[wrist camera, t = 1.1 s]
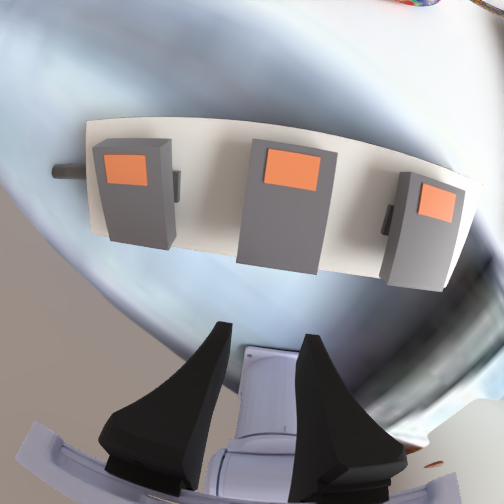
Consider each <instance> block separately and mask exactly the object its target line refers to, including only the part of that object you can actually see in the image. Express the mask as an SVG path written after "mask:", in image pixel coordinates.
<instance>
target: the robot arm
mask: <svg viewBox="0 0 504 504" xmlns="http://www.w3.org/2000/svg"><path fill="white" fill-rule="evenodd" d="M232 325H233V323H227V322H221V321H219V322H217V323H216V325H215V326H214V328H213V330H212V331H211V333H210V334H209V336H208V337H207V338H206V340H205V341H204V342H203V344H202V345H201V346H200V347H199V349H198V350H197V351H196V352H195V353H194V354H193V356H192V357H191V358H190V359H189V360H188V361H187V362H186V363H185V364H184V365H183V366H182V367H181V368H180V369H179V370H178V371H177V372H176V373H175V374H173V375H172V376H171V377H170V378H169V379H168V380H166V381H165V382H164V383H163V384H161V385H160V386H159V387H158V388H156V389H155V390H153V391H152V392H150V393H149V394H147V395H146V396H144V397H142V398H141V399H139V400H138V401H136V402H134V403H132V404H130V405H128V406H127V407H124V408H122V409H120V410H118V411H116V412H114V413H113V414H112V415H111V416H110V418H109V419H108V421H107V422H106V424H105V426H104V428H103V430H102V432H101V434H100V436H99V439H98V441H99V443H100V445H101V446H102V447H103V448H104V449H105V450H106V452H107V453H108V454H109V455H110V456H109V459H108V461H107V463H105V462H103V461H101V460H99V459H97V458H94V457H92V456H90V455H88V454H86V453H84V452H82V451H80V450H78V449H76V448H74V447H73V446H71V445H69V444H67V443H65V442H64V441H63V440H62V439H61V438H60V437H59V436H58V435H57V434H56V433H54V432H53V431H51V430H50V429H48V428H46V427H45V426H43V425H41V424H40V423H38V422H37V421H35V422H34V423H33V425H32V427H31V429H30V430H29V432H28V434H27V436H26V438H25V439H24V442H23V443H22V445H21V447H20V449H19V451H18V453H17V455H16V457H15V460H16V461H17V462H18V463H20V464H21V465H22V466H23V467H25V468H26V469H27V470H29V471H30V472H31V473H33V474H34V475H36V476H37V477H38V478H40V479H41V480H43V481H44V482H45V483H47V484H48V485H50V486H51V487H53V488H54V489H56V490H57V491H59V492H61V493H62V494H64V495H65V496H67V497H69V498H71V499H72V500H74V501H76V502H77V503H79V504H171V503H168V502H165V501H162V500H159V499H157V498H154V497H151V496H155V497H158V498H161V499H164V500H168V501H171V502H175V503H180V504H462V503H461V497H460V491H459V485H458V480H457V475H456V473H455V472H454V473H451V474H448V475H445V476H442V477H439V478H437V479H435V480H433V481H431V482H429V483H428V484H427V485H423V486H420V487H416V488H412V489H408V490H404V491H400V492H395V493H391V494H389V491H388V486H390V485H391V477H393V476H394V475H396V474H398V473H400V472H401V471H403V470H404V469H405V468H406V466H407V465H408V463H407V457H406V452H405V449H404V446H403V445H402V444H401V443H399V442H398V441H397V440H395V439H394V438H393V437H392V436H390V435H389V434H388V433H387V432H385V431H384V430H383V429H382V428H381V427H380V426H379V425H378V424H377V423H376V422H375V421H374V420H373V419H372V418H371V417H370V416H369V415H368V414H367V413H366V412H365V411H364V409H363V408H362V407H361V406H360V404H359V403H358V402H357V401H356V399H355V398H354V397H353V395H352V394H351V392H350V391H349V389H348V388H347V386H346V385H345V383H344V382H343V380H342V378H341V377H340V375H339V373H338V372H337V370H336V368H335V366H334V364H333V362H332V361H331V359H330V357H329V355H328V353H327V351H326V348H325V346H324V344H323V342H322V340H321V338H320V336H319V335H312V334H306V335H305V338H304V341H303V344H302V347H301V349H300V352H299V353H298V352H289V351H281V350H273V349H266V348H259V347H252V346H248V347H246V348H245V353H244V360H243V366H242V372H241V379H240V385H239V392H238V399H239V400H241V404H240V410H239V416H238V422H237V428H236V434H235V439H229V444H228V449H225V448H222V449H220V450H219V451H217V452H216V453H215V454H214V455H213V456H212V457H211V459H210V461H209V464H208V467H207V471H206V476H205V484H204V494H203V493H198V492H194V491H195V490H197V489H198V483H199V478H200V473H201V467H202V462H203V457H204V452H205V447H206V442H207V437H208V432H209V427H210V423H211V418H212V414H213V411H214V408H215V404H216V402H217V399H218V395H219V392H220V389H221V386H222V383H223V380H224V377H225V374H226V369H227V364H228V359H229V354H230V345H231V335H232ZM249 354H251V355H249ZM147 494H148V495H151V496H148V495H147Z"/></svg>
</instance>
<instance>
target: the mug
mask: <svg viewBox="0 0 504 504" xmlns="http://www.w3.org/2000/svg"><path fill="white" fill-rule="evenodd" d="M396 1H399V2H401V3H405V4H408V5H413V6H430V5H434V4H436V3H438V2H439V1H440V0H396ZM470 1H472V2H473V3H475V4H477V5H479V6H480V7H482V8H484V9H486V10H488V11H490V12H492V13H494V14H496V15H499V16H501V17H504V11H503V10H501V9H498V8H496V7H494V6H492V5H489V4H488V3H486V2H484V1H482V0H470Z"/></svg>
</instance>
